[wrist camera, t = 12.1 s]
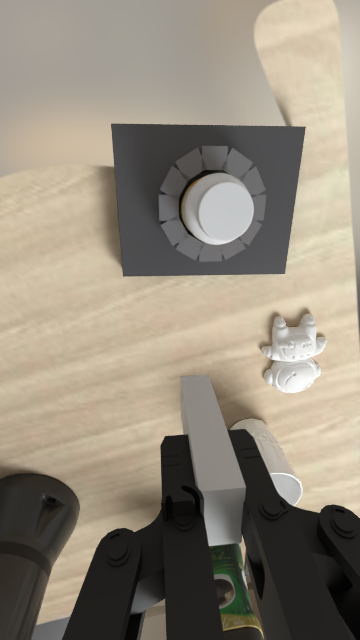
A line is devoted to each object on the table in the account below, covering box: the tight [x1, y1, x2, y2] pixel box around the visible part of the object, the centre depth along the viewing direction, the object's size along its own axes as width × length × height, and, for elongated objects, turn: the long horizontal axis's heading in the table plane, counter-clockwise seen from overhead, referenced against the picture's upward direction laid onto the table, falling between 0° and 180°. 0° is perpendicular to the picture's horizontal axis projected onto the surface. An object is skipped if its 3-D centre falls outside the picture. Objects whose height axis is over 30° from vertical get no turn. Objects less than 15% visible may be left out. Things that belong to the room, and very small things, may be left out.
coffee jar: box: [209, 543, 263, 640], centre depth 44 cm, size 10×8×19 cm
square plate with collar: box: [111, 124, 306, 276], centre depth 29 cm, size 18×14×6 cm
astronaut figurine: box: [262, 314, 327, 393], centre depth 38 cm, size 9×12×3 cm
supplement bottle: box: [180, 173, 254, 245], centre depth 25 cm, size 5×5×10 cm
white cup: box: [230, 418, 303, 506], centre depth 40 cm, size 8×8×10 cm
